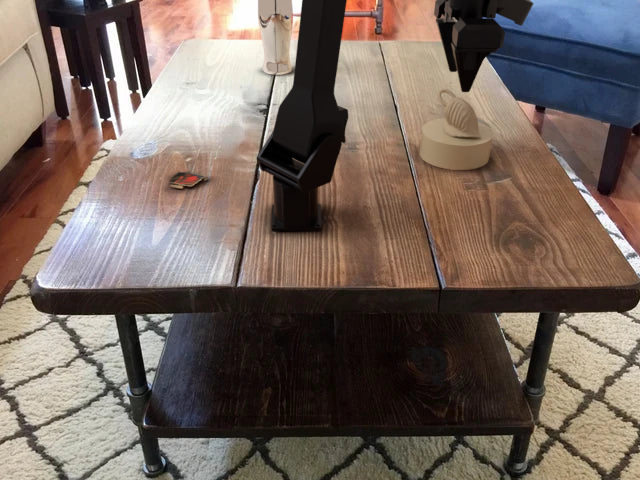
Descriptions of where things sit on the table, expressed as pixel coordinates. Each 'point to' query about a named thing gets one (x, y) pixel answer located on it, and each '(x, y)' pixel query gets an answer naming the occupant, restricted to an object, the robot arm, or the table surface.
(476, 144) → the ceramic puck
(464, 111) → the decorative ornament
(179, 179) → the matchbox
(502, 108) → the table surface
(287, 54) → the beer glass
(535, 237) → the table surface
